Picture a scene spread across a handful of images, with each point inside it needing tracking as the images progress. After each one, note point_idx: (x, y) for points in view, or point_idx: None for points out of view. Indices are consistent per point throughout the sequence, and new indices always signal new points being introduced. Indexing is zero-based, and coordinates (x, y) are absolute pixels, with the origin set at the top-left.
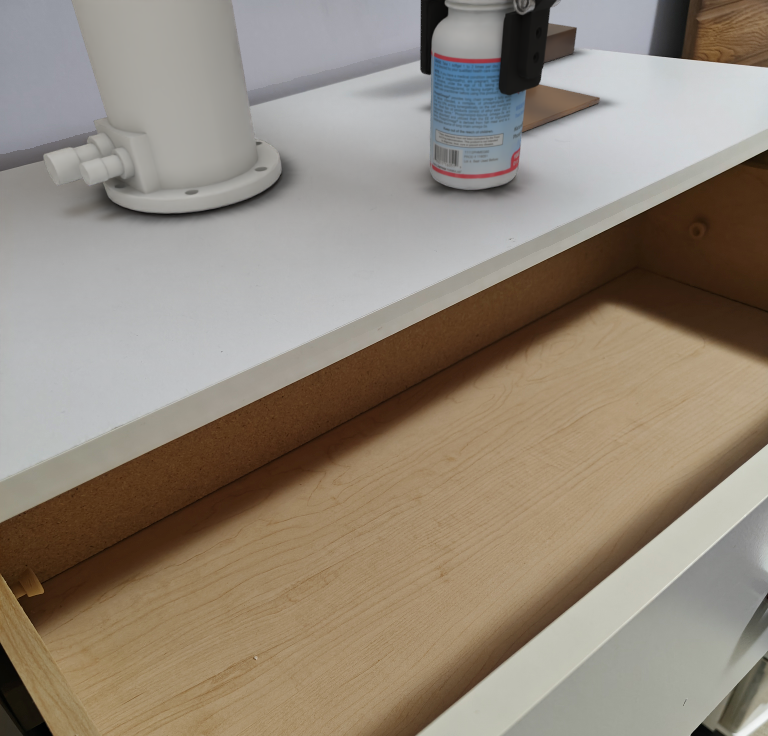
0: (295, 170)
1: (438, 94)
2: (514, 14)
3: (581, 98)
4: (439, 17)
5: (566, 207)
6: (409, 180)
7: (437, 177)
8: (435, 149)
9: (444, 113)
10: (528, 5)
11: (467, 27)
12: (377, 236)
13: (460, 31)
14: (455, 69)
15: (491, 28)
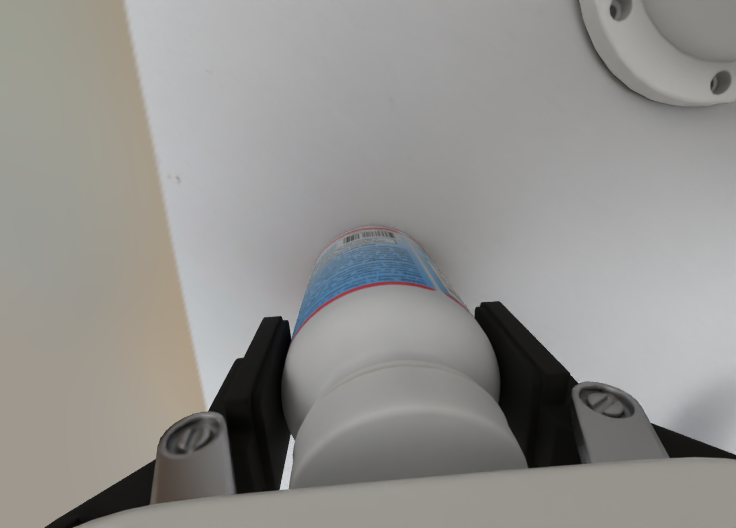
0: (607, 110)
1: (397, 260)
2: (226, 407)
3: None
4: (513, 383)
5: (214, 300)
6: (433, 215)
7: (381, 226)
8: (393, 236)
9: (375, 251)
10: (172, 431)
11: (358, 346)
12: (307, 38)
13: (366, 329)
14: (356, 282)
15: (313, 379)
